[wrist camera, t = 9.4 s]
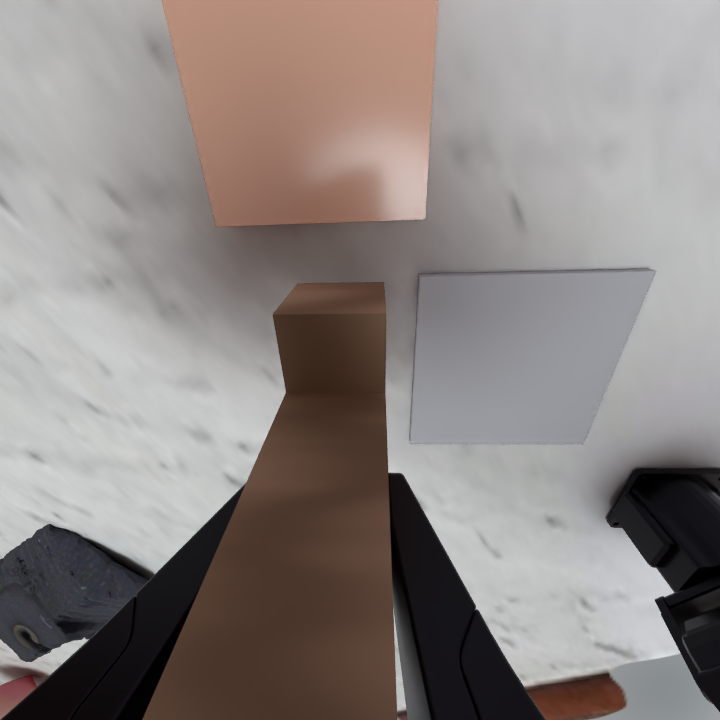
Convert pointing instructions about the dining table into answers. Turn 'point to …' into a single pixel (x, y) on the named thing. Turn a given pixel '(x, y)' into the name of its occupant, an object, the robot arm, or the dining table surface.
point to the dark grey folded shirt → (59, 592)
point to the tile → (309, 106)
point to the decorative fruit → (15, 693)
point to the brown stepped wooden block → (303, 540)
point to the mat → (518, 353)
